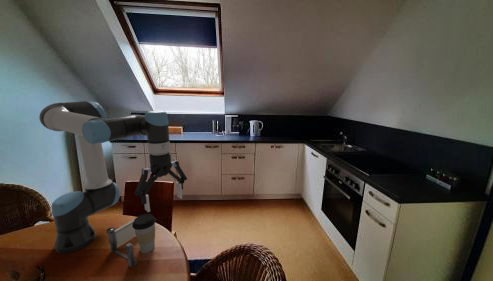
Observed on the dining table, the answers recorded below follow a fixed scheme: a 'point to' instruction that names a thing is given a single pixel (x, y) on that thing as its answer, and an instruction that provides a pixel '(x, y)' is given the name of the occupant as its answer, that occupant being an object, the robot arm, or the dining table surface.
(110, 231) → the hinge post
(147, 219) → the coffee cup
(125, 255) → the bar
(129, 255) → the post
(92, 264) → the dining table surface
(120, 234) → the gate
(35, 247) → the dining table surface
